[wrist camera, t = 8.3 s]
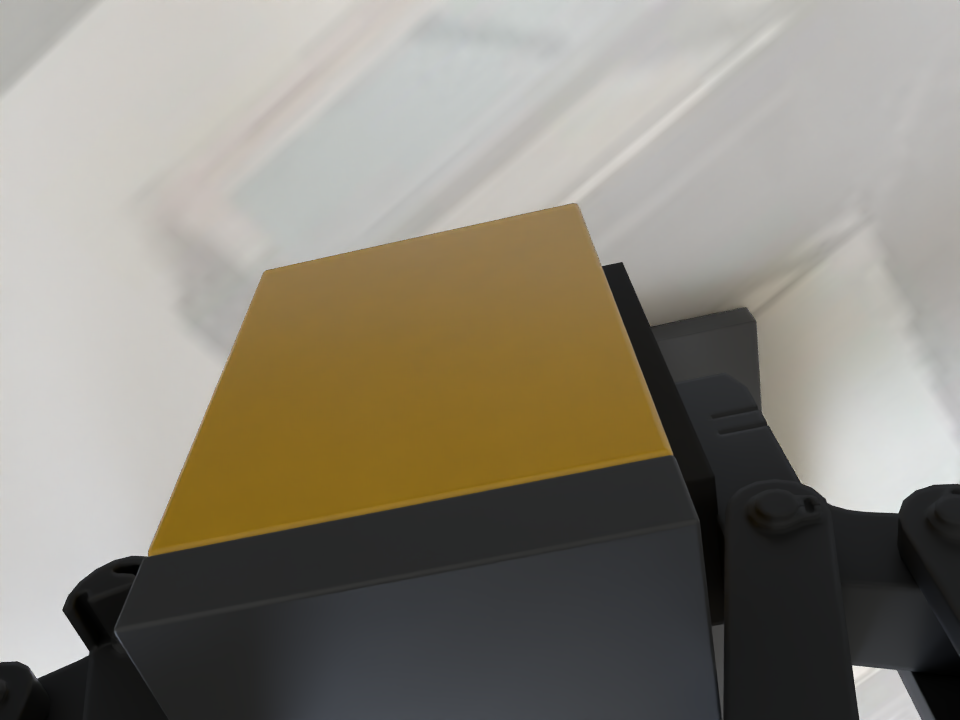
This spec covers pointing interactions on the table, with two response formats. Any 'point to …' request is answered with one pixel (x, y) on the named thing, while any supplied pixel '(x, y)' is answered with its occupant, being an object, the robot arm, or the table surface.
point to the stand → (709, 352)
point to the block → (430, 501)
